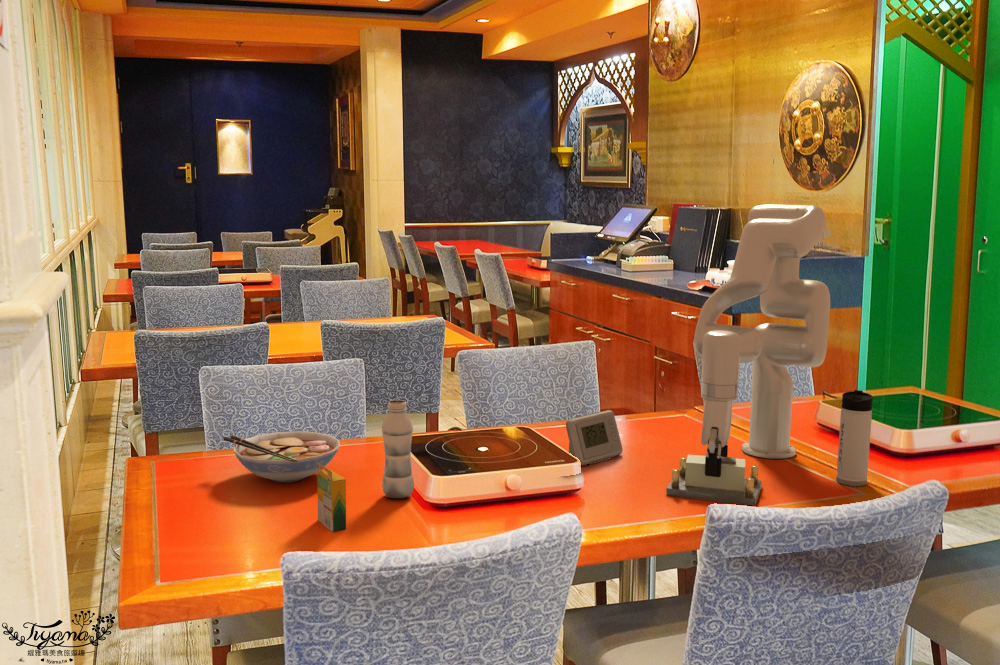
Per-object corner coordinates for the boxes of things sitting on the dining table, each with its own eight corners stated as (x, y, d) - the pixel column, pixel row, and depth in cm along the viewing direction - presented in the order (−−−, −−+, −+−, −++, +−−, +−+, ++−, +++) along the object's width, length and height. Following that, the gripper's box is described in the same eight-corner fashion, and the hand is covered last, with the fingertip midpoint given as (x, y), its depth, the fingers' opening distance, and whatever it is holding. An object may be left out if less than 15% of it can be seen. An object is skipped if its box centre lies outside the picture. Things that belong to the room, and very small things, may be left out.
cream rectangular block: (686, 476, 197) (687, 451, 196) (744, 482, 194) (745, 456, 193) (684, 485, 192) (686, 459, 191) (743, 490, 188) (745, 464, 188)
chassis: (677, 477, 202) (678, 455, 201) (761, 487, 196) (762, 464, 195) (666, 495, 190) (667, 471, 189) (755, 506, 184) (756, 482, 183)
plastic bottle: (389, 504, 183) (388, 407, 180) (377, 494, 189) (376, 400, 186) (418, 499, 186) (418, 403, 183) (406, 489, 192) (406, 396, 189)
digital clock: (576, 469, 208) (577, 423, 206) (554, 459, 215) (554, 415, 213) (632, 458, 216) (633, 415, 214) (608, 449, 224) (609, 407, 222)
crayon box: (347, 529, 169) (346, 469, 168) (332, 532, 168) (331, 472, 166) (332, 517, 175) (330, 459, 174) (317, 520, 174) (316, 461, 172)
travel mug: (867, 479, 202) (874, 391, 199) (865, 488, 196) (872, 397, 193) (837, 475, 204) (843, 388, 201) (834, 484, 198) (841, 394, 195)
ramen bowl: (365, 478, 199) (364, 442, 198) (275, 503, 183) (274, 464, 181) (298, 455, 216) (297, 421, 215) (210, 476, 200) (209, 440, 198)
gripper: (707, 380, 199) (704, 455, 202) (694, 397, 183) (691, 479, 186) (742, 383, 196) (739, 459, 199) (732, 401, 180) (728, 484, 183)
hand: (716, 469), depth 193 cm, fingers open, 9 cm apart
